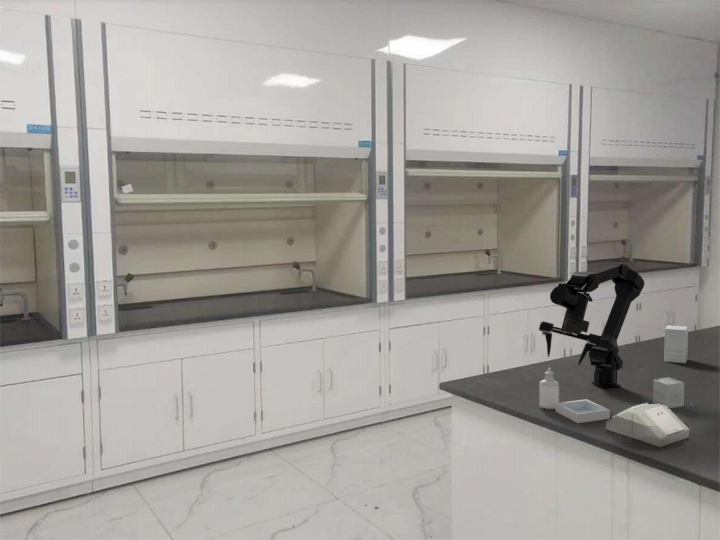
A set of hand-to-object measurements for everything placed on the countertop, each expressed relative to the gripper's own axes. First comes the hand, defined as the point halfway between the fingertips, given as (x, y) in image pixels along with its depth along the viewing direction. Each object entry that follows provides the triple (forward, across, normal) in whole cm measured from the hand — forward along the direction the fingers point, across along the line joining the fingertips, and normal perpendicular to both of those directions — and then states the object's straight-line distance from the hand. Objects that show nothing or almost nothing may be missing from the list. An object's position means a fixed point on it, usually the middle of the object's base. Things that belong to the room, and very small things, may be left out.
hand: (563, 360), depth 196 cm
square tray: (+14, +8, -12) cm, 20 cm away
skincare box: (+5, +32, +2) cm, 32 cm away
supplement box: (-13, +41, +55) cm, 70 cm away
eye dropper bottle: (+15, -1, -7) cm, 16 cm away
